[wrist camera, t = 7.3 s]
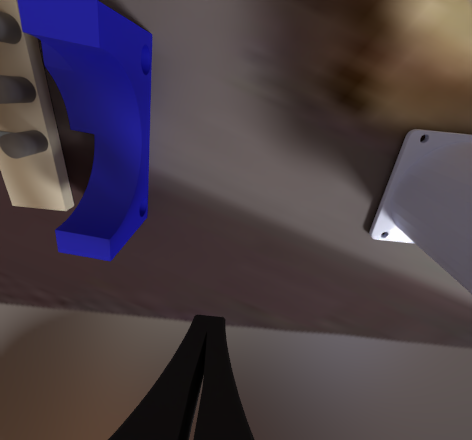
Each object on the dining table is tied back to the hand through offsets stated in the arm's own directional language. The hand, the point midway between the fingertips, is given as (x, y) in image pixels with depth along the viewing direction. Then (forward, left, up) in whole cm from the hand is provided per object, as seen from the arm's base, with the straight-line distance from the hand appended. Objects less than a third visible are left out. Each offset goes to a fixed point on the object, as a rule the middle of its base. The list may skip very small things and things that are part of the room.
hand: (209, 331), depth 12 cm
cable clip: (+8, -7, -10) cm, 14 cm away
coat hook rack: (+14, -9, -9) cm, 19 cm away
